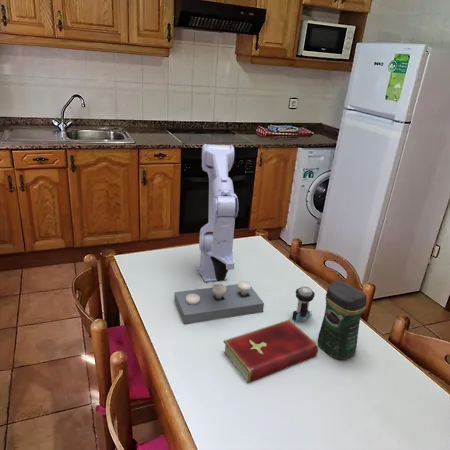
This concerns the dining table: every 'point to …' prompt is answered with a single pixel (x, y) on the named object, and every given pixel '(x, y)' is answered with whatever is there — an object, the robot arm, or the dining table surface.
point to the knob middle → (219, 290)
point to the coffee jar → (341, 320)
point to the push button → (303, 304)
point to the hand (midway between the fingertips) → (220, 280)
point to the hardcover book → (270, 349)
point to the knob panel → (217, 304)
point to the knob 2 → (244, 287)
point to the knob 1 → (192, 299)
